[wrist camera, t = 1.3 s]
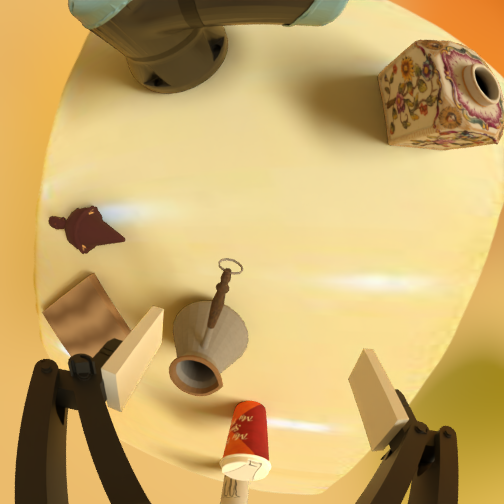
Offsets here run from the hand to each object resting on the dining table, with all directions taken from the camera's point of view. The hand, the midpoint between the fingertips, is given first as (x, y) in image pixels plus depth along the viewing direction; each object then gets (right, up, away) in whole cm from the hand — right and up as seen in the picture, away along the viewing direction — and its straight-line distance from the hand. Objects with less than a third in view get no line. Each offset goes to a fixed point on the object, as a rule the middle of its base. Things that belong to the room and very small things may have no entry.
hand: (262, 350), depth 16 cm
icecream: (-26, +10, +23) cm, 36 cm away
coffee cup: (-1, -24, +30) cm, 39 cm away
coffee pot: (-5, -1, +25) cm, 25 cm away
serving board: (-31, -9, +28) cm, 43 cm away
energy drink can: (-4, -47, +36) cm, 59 cm away
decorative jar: (+24, +27, +16) cm, 40 cm away
